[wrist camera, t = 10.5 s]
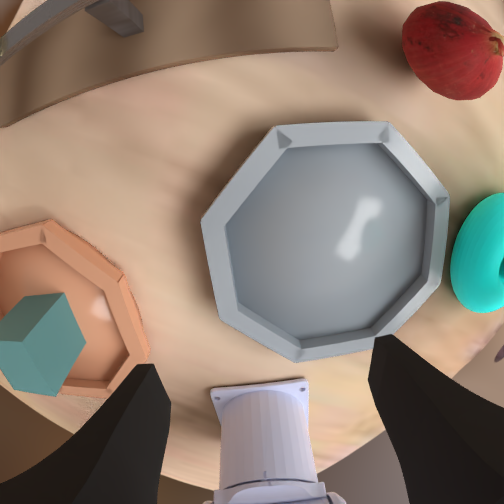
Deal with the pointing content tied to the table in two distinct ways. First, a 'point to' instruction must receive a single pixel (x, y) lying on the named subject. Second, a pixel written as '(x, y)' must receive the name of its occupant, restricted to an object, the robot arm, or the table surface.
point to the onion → (453, 50)
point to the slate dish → (326, 238)
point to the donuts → (480, 257)
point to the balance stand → (153, 44)
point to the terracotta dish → (77, 301)
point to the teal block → (39, 343)
